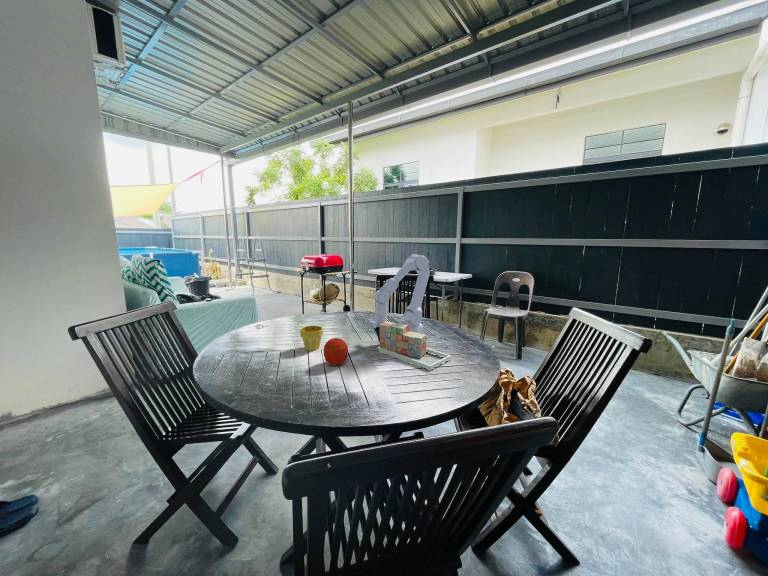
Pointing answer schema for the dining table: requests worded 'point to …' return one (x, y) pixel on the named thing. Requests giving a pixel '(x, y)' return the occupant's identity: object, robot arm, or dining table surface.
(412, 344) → the stack of blocks
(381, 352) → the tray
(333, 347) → the apple
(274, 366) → the dining table surface
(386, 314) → the robot arm
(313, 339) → the plant pot
